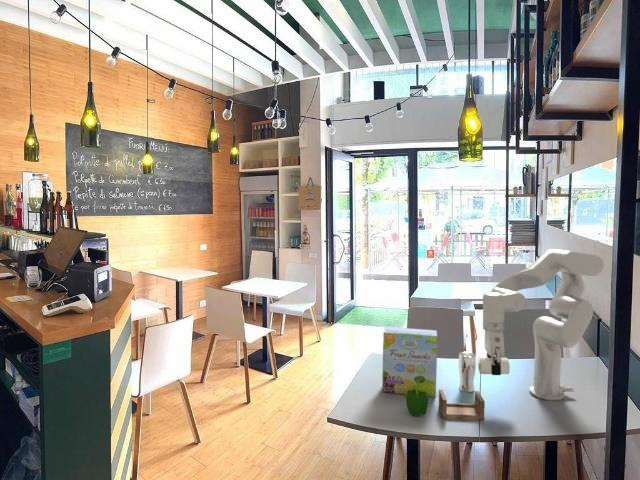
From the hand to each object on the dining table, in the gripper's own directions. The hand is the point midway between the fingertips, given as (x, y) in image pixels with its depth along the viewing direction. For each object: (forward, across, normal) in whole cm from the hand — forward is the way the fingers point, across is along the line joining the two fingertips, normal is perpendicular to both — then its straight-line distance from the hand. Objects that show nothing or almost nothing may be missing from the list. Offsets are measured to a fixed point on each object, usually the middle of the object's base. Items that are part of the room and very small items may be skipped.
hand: (493, 370), depth 169 cm
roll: (+1, 0, 0) cm, 1 cm away
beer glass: (+14, +14, +7) cm, 20 cm away
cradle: (+13, -8, +14) cm, 21 cm away
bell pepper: (+13, -10, +30) cm, 34 cm away
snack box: (+13, +10, +31) cm, 35 cm away
